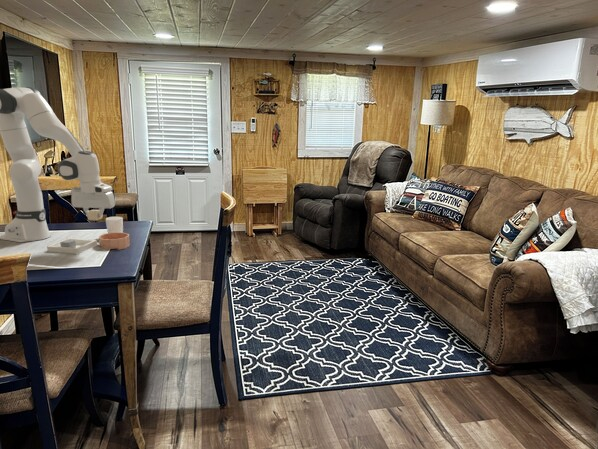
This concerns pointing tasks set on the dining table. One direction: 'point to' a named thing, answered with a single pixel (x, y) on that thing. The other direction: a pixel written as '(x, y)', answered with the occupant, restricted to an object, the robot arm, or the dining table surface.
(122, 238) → the bowl
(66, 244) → the grey cube
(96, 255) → the dining table surface
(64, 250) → the parts tray
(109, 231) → the white cup
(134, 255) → the dining table surface
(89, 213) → the tan cube
